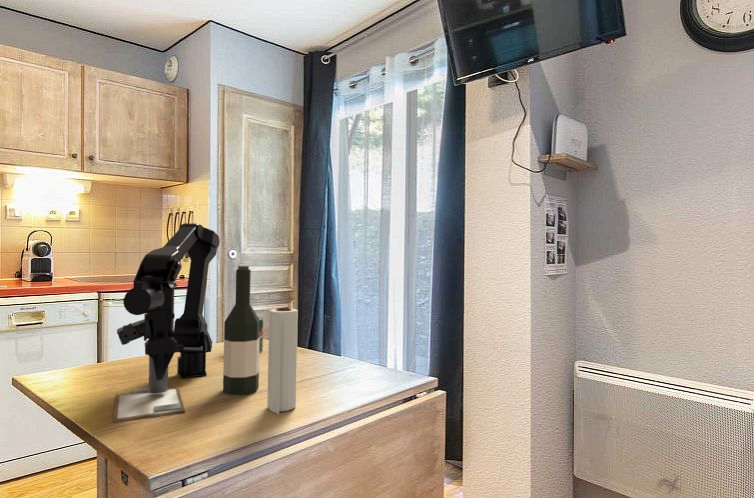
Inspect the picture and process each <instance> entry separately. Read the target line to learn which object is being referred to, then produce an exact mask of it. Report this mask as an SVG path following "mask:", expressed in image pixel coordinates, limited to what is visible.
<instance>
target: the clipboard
mask: <svg viewBox="0 0 754 498" xmlns="http://www.w3.org/2000/svg"><path fill="white" fill-rule="evenodd" d="M148 389H149V387H142V388H134V389H133V392H129V393H127V392H126V393H120V394H119V393H118V394H116V395H115V402H114V410H113V418H112V420H113V421H112V423H118V422H126V421H132V420H139V419H148V418H155V417H161V416H170V415H174V414H175V415H178V414H184V413H186V410H185V406H184V402H183V399H182V395H181V393H180V392H181V391H180V389H179V387H175V388H173V387H172V388H168V390H167V391H166V392H163V393H149V392H148Z"/></svg>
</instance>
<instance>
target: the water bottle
mask: <svg viewBox="0 0 754 498" xmlns="http://www.w3.org/2000/svg"><path fill="white" fill-rule="evenodd" d="M148 388H149V389H148V392H149V393H163V392H166V391H167V390H168V389H169V367H168V368H167V370H166V372H165V374H164V376H163V379H162V380H157V379H156V373H155V368H154V363H153V359H152V358H151V357H150V356H148Z"/></svg>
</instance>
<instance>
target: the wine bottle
mask: <svg viewBox="0 0 754 498" xmlns="http://www.w3.org/2000/svg"><path fill="white" fill-rule="evenodd" d="M251 273H252V270H251V269H250V266H249V265H237V269H235V304H234V306H233V307H232V309H231V310H230V313H229V314H228V316H227V317H226V319H225V320H224V321H223V322H224V324H223V325H224V326H223V327H224V331H223V333H224V334H223V380H222V382H223V383H222V392H223V393H224V394H225V395H228V396H247V395H250V394H255V393H257V391H258V389H259V384H260V383H259V382H260V377H259V376H260V375H259V373H260V353H259V340H260V320H259V318H258V317H259V316H258V315H257V313H256V312H255V310H254V308H253V307H252V304H251V277H252V276H251Z"/></svg>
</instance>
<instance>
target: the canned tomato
mask: <svg viewBox="0 0 754 498" xmlns="http://www.w3.org/2000/svg"><path fill="white" fill-rule="evenodd" d="M258 318H259V320H260V340H259V354H261V353H263V349H264V344H263V343H264V317H262V316H261V317H260V316H258Z"/></svg>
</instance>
